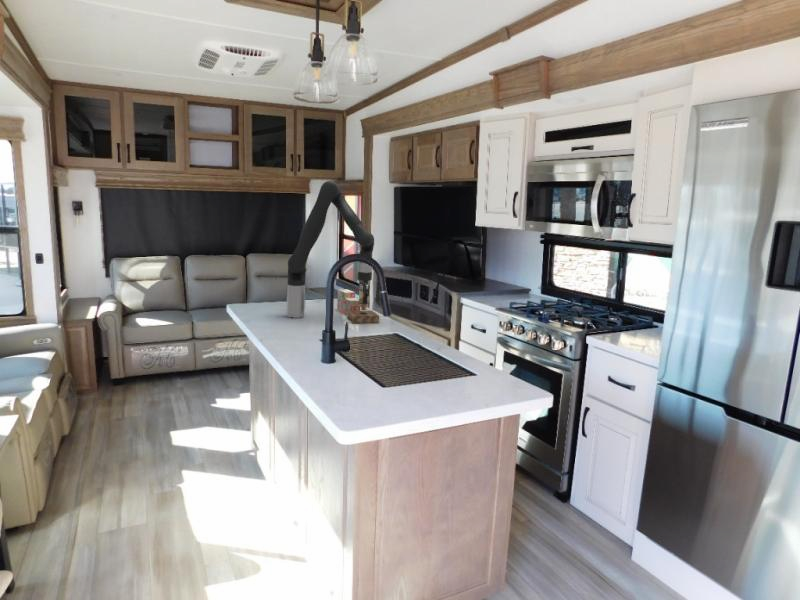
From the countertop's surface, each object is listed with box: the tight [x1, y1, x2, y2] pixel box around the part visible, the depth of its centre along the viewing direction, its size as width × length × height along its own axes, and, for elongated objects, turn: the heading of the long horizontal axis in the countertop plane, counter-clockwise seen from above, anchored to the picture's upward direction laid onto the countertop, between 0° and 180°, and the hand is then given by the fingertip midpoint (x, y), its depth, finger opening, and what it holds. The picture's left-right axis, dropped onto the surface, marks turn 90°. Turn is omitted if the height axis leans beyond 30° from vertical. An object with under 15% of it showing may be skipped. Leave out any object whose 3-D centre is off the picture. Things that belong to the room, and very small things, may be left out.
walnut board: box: [346, 310, 380, 325], centre depth 292 cm, size 14×14×4 cm
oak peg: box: [358, 290, 370, 311], centre depth 290 cm, size 5×5×10 cm
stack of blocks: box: [336, 289, 361, 316], centre depth 309 cm, size 21×6×12 cm, turn 25°
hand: (363, 302), depth 291 cm, fingers closed on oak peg, 5 cm apart
